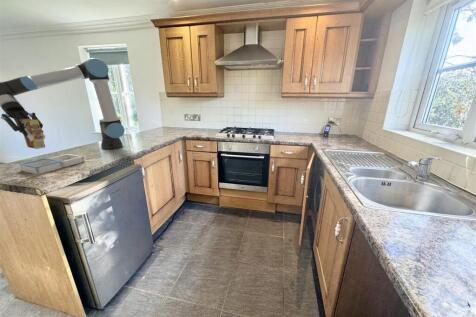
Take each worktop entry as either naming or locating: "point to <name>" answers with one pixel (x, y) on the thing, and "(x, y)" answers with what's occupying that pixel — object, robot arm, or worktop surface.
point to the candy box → (33, 133)
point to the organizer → (50, 163)
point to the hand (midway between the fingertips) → (38, 138)
